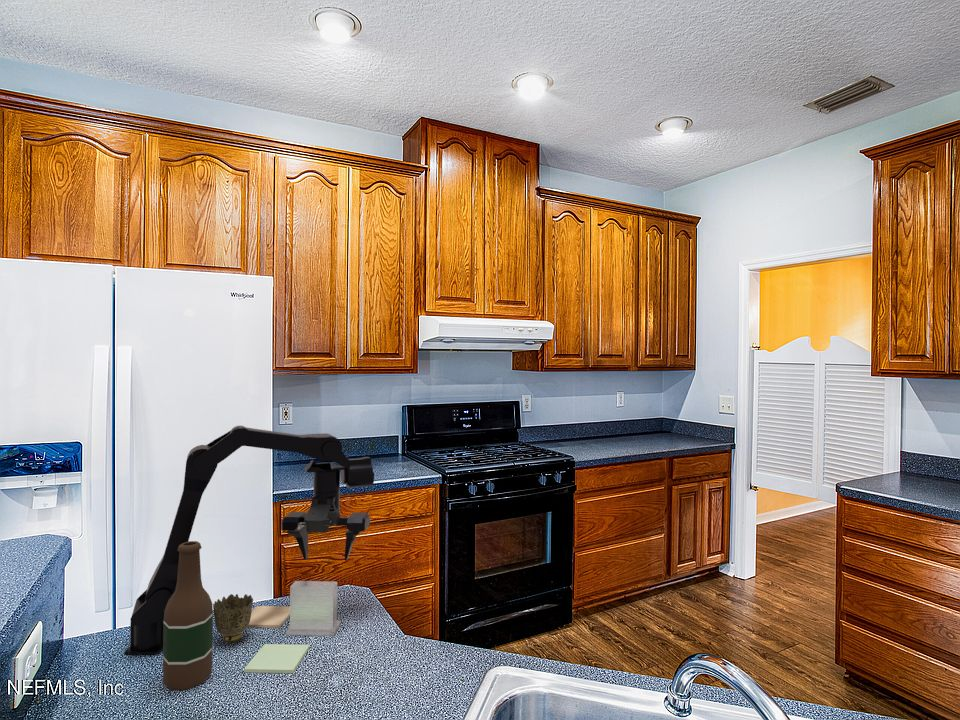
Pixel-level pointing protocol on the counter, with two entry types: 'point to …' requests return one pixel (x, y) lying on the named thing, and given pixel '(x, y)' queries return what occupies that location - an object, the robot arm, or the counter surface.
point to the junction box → (313, 608)
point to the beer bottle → (188, 625)
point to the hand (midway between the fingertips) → (326, 559)
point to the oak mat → (269, 616)
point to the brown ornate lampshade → (232, 616)
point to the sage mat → (277, 658)
